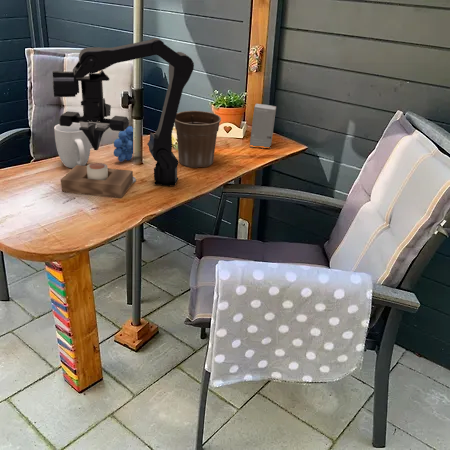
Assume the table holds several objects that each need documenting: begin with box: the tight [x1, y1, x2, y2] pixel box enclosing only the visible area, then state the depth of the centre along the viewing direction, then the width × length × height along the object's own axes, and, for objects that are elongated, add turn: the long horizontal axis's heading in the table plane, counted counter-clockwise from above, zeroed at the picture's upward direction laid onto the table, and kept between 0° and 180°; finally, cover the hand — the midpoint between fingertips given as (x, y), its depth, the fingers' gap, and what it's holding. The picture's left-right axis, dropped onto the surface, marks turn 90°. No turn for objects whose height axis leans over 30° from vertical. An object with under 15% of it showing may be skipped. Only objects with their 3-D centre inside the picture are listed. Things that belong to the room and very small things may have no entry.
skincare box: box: [249, 103, 277, 148], centre depth 189 cm, size 8×7×16 cm
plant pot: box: [174, 110, 222, 169], centre depth 169 cm, size 16×16×16 cm
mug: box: [53, 122, 92, 169], centre depth 159 cm, size 15×11×13 cm
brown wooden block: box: [60, 165, 134, 199], centre depth 148 cm, size 18×12×4 cm, turn 83°
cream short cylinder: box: [86, 162, 108, 180], centre depth 147 cm, size 6×6×6 cm
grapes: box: [113, 125, 134, 163], centre depth 168 cm, size 12×7×12 cm, turn 140°
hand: (96, 149), depth 143 cm, fingers closed
